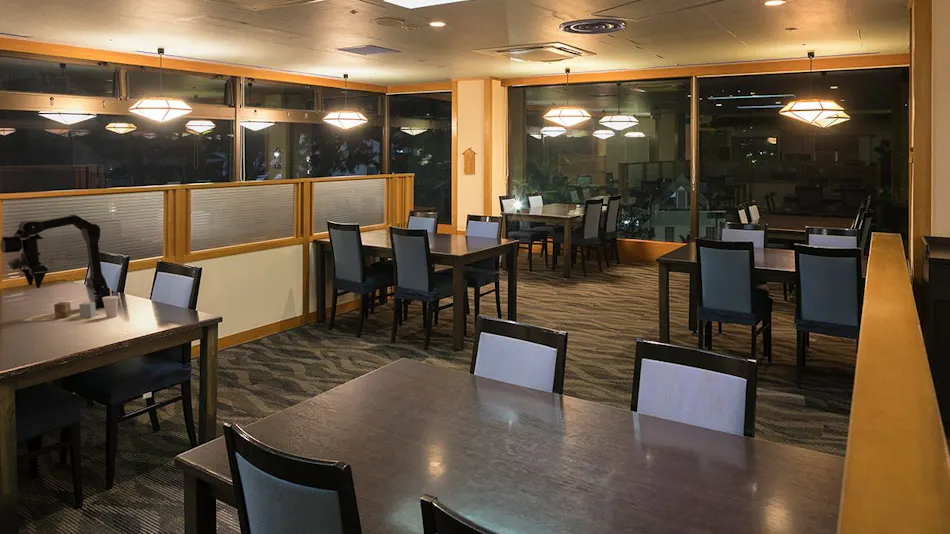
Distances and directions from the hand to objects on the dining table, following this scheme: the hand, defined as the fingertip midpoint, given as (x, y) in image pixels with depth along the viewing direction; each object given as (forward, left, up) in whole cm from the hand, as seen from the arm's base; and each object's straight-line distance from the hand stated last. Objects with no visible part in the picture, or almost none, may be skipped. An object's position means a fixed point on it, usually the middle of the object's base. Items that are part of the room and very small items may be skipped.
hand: (34, 286), depth 308 cm
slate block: (-15, +16, -14) cm, 25 cm away
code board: (-7, +8, -14) cm, 18 cm away
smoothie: (-21, +24, -15) cm, 35 cm away
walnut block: (-7, +8, -14) cm, 17 cm away
